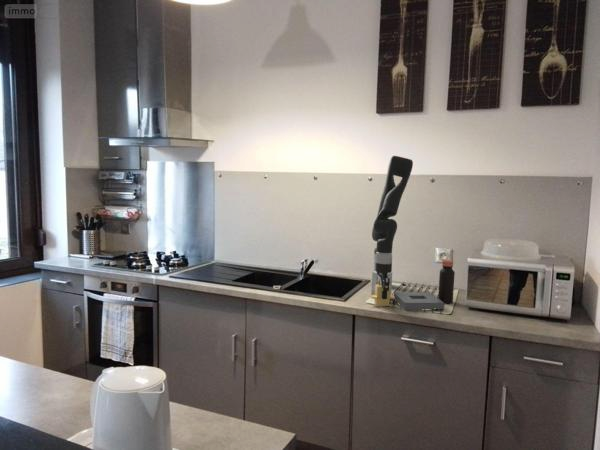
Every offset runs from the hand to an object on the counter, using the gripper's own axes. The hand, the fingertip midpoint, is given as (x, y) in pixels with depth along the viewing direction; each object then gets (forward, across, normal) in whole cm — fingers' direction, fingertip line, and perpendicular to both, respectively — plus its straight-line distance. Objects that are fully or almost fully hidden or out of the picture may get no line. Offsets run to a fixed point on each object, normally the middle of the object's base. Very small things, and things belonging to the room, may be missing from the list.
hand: (382, 296), depth 218 cm
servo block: (+4, 0, 0) cm, 4 cm away
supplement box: (+4, +13, -3) cm, 14 cm away
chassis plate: (+4, 0, -17) cm, 17 cm away
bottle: (+4, +4, -32) cm, 32 cm away
